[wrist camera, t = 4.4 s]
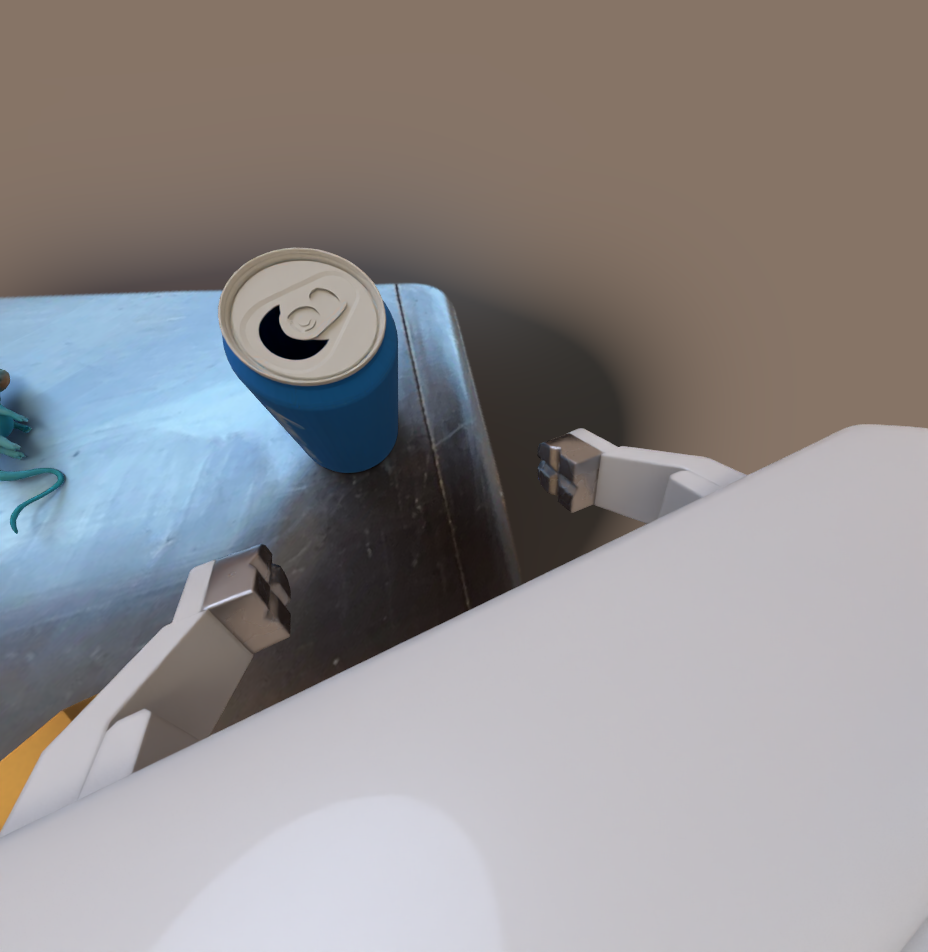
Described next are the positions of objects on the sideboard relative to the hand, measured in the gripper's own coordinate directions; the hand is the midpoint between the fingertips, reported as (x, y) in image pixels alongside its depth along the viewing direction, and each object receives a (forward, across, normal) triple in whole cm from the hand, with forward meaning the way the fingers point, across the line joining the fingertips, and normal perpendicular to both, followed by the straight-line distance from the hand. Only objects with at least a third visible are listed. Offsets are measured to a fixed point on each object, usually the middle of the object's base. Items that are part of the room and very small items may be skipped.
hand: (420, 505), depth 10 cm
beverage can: (+15, +1, +4) cm, 16 cm away
